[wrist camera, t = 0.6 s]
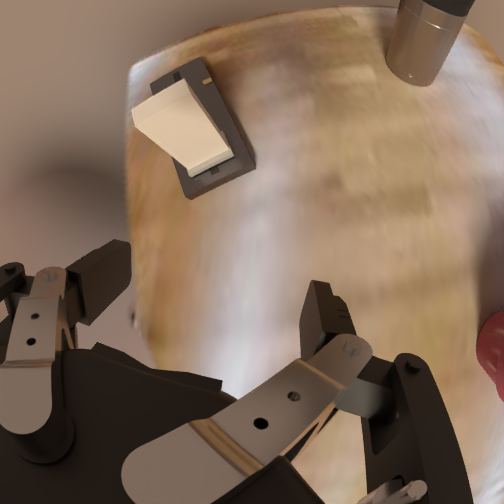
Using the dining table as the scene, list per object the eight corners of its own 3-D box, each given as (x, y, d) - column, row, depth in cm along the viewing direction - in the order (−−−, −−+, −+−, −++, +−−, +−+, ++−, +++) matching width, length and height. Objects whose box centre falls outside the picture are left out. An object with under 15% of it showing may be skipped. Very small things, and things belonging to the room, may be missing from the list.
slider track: (256, 168, 36) (252, 162, 34) (191, 200, 38) (184, 196, 35) (204, 63, 39) (199, 55, 37) (154, 89, 41) (149, 83, 39)
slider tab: (234, 155, 34) (194, 98, 21) (191, 177, 35) (134, 133, 22) (224, 133, 35) (184, 72, 21) (183, 154, 36) (128, 105, 22)
